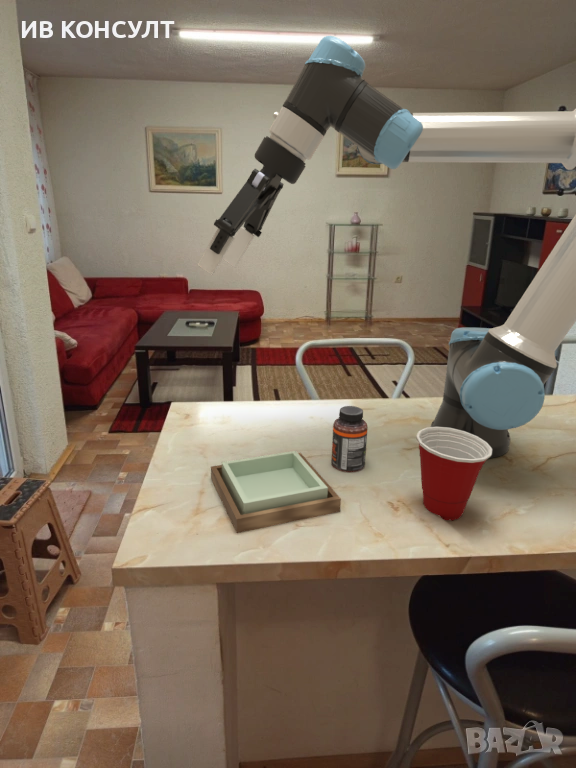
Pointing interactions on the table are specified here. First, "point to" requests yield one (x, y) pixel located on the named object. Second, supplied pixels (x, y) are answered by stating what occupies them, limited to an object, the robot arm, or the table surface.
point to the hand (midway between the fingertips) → (217, 266)
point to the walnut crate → (276, 514)
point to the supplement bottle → (349, 440)
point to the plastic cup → (449, 468)
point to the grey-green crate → (271, 482)
